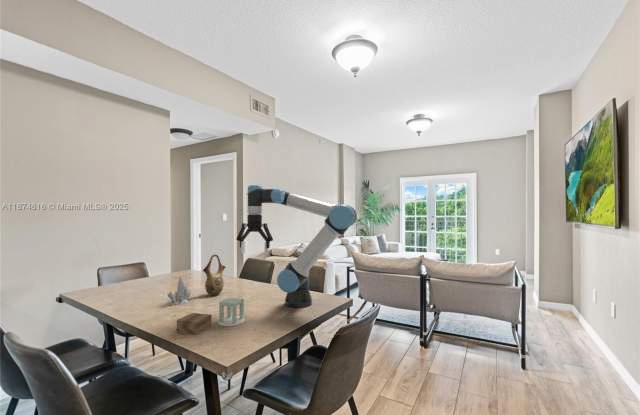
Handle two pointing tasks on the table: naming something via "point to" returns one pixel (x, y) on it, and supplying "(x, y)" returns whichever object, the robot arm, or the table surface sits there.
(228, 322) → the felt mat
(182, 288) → the crystal
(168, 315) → the table surface
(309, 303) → the robot arm
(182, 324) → the walnut box
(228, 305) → the stool
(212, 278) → the ceramic vessel
